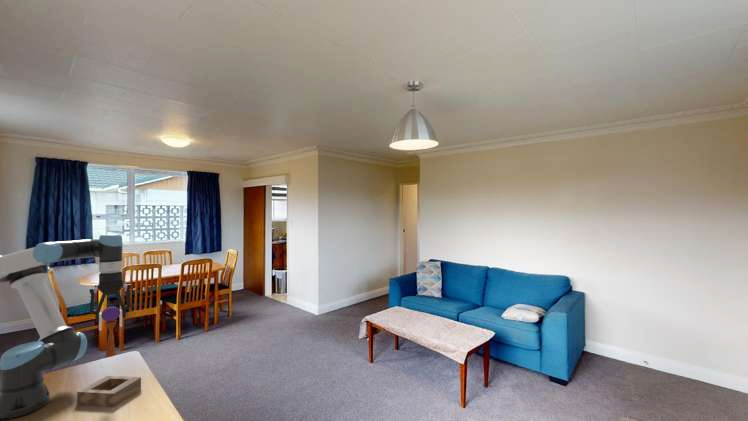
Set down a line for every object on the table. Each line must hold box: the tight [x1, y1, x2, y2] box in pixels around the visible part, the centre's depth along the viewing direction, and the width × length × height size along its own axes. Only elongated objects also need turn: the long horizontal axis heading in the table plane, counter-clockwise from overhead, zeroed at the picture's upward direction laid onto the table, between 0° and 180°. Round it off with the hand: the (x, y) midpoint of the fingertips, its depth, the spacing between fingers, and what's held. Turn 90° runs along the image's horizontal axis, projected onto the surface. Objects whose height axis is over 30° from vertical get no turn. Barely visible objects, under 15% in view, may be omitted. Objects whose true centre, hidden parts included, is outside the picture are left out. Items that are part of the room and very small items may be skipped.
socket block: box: [76, 375, 142, 407], centre depth 135 cm, size 16×13×5 cm
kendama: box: [101, 305, 121, 358], centre depth 135 cm, size 6×6×20 cm
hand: (110, 327), depth 135 cm, fingers closed on kendama, 6 cm apart
